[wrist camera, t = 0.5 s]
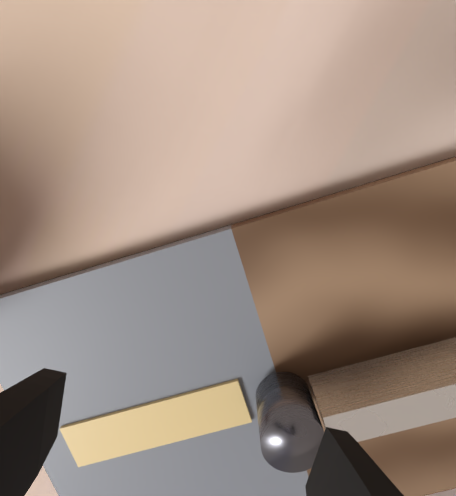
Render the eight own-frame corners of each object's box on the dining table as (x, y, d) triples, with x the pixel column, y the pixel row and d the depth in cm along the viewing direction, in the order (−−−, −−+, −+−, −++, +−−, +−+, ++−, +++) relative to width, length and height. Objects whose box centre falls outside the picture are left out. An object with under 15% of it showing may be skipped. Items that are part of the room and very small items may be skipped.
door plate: (317, 503, 22) (322, 522, 21) (103, 554, 23) (97, 575, 22) (231, 224, 18) (231, 229, 17) (-25, 302, 19) (-41, 311, 18)
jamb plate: (518, 456, 21) (532, 470, 20) (317, 503, 22) (321, 519, 21) (475, 150, 17) (490, 150, 16) (231, 224, 18) (231, 228, 17)
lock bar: (263, 424, 19) (270, 479, 16) (248, 379, 18) (252, 426, 15) (514, 360, 18) (575, 404, 15) (507, 310, 17) (570, 344, 14)
